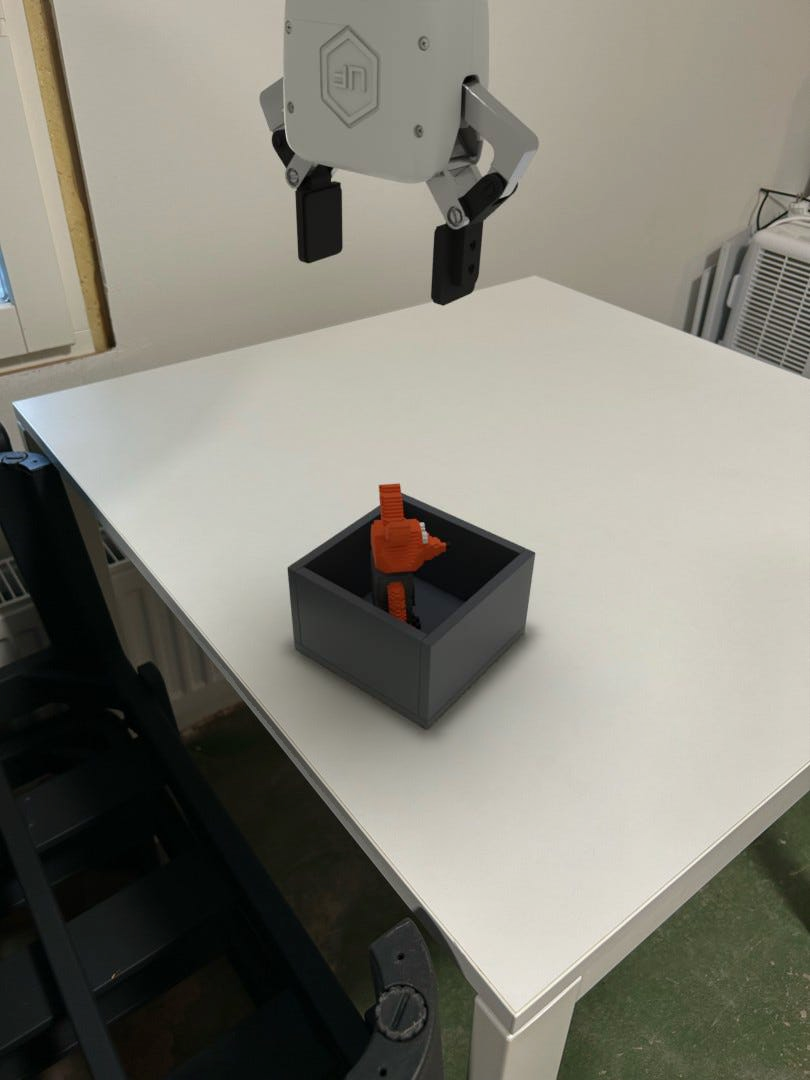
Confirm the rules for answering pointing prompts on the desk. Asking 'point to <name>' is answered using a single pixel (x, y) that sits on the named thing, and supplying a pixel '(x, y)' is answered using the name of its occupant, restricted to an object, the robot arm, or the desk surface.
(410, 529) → the toy animal
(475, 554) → the bin
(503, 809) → the desk surface
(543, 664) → the desk surface
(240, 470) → the desk surface
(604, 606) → the desk surface
